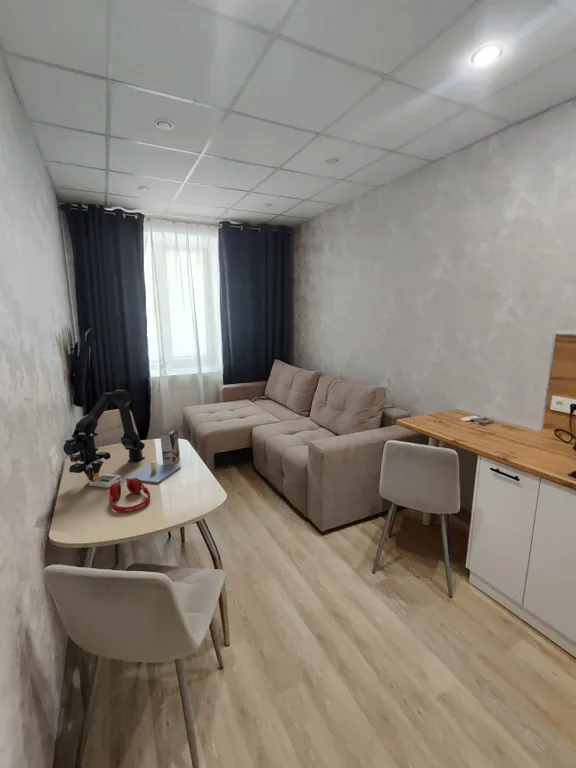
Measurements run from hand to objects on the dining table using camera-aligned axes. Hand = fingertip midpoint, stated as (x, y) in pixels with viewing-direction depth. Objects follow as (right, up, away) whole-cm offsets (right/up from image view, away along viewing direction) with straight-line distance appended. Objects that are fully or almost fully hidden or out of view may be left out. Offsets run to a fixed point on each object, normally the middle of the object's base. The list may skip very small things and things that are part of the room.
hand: (93, 479), depth 171 cm
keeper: (+26, +1, +7) cm, 27 cm away
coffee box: (+30, +3, +22) cm, 37 cm away
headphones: (+26, -5, -20) cm, 33 cm away
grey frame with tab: (+5, -1, -1) cm, 5 cm away
